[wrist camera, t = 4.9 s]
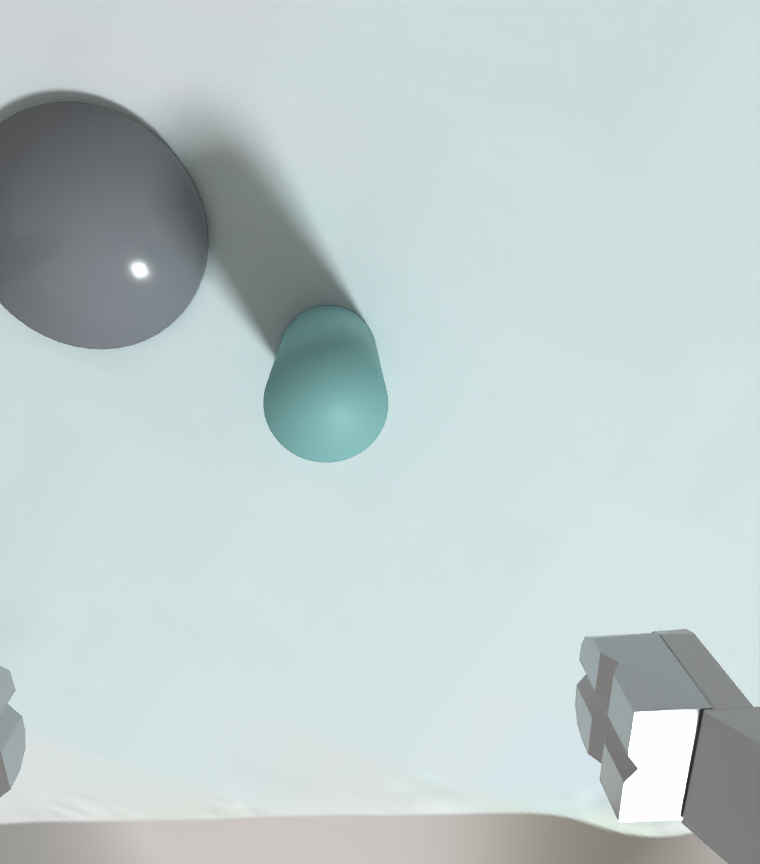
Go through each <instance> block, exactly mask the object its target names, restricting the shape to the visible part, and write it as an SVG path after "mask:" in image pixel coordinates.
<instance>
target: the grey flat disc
mask: <svg viewBox="0 0 760 864" xmlns="http://www.w3.org/2000/svg"><path fill="white" fill-rule="evenodd" d="M207 254H208V229H207V223H206V217H205V212H204V209H203V205H202V202H201V199H200V196H199V194H198V192H197V189H196V187H195V185H194V182H193V181H192V179H191V177H190V176H189V174H188V172H187V170H186V169H185V167H184V166H183V164H182V163H181V162H180V160H179V159H178V158H177V156H176V155H175V154H174V153H173V152H172V151H171V150H170V149H169V148H168V146H167V145H166V144H165V143H164V142H163V141H162V140H160V139H159V138H158V137H157V136H156V135H154V134H153V133H152V132H151V131H150V130H148V129H147V128H145V127H144V126H142V125H140V124H139V123H137V122H136V121H134V120H132V119H130V118H128V117H126V116H124V115H122V114H120V113H117V112H114V111H111V110H108V109H106V108H103V107H99V106H94V105H89V104H85V103H73V102H59V103H48V104H43V105H39V106H35V107H31V108H29V109H26V110H24V111H21V112H19V113H17V114H15V115H13V116H12V117H10V118H8V119H7V120H5V121H4V122H2V123H1V124H0V303H1V304H2V305H3V306H4V308H6V309H7V310H8V311H9V312H10V313H11V314H12V315H13V316H15V317H16V318H17V319H18V320H20V321H21V322H23V323H24V324H25V325H27V326H28V327H30V328H31V329H33V330H35V331H37V332H38V333H40V334H42V335H44V336H46V337H49V338H51V339H53V340H56V341H58V342H61V343H65V344H68V345H72V346H76V347H82V348H88V349H112V348H121V347H125V346H130V345H134V344H137V343H139V342H142V341H145V340H147V339H149V338H151V337H153V336H155V335H156V334H158V333H160V332H161V331H163V330H164V329H165V328H167V327H168V326H169V325H171V324H172V323H173V322H174V321H175V320H176V319H177V318H178V317H179V316H180V315H181V314H182V313H183V312H184V311H185V309H186V308H187V307H188V305H189V304H190V303H191V301H192V299H193V298H194V296H195V294H196V292H197V290H198V288H199V286H200V283H201V281H202V278H203V275H204V271H205V267H206V262H207Z"/></svg>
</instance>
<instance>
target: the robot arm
mask: <svg viewBox="0 0 760 864" xmlns="http://www.w3.org/2000/svg"><path fill="white" fill-rule="evenodd" d="M579 660H580V662H581V664H582V666H583V668H584V670H585V672H586V675H585V676H584V677H583V679H582V680H581V681H580V682H579V683H578V684H577V687H576V700H575V707H576V716H577V724H578V728H579V731H580V735H581V738H582V741H583V743H584V746H585V748H586V750H587V753H588V754H589V755H591V756H592V757H593V758H595V759H596V760H597V761H599V762H600V763H601V764H602V765H601V773H600V782H601V784H602V786H603V788H604V791H605V793H606V795H607V797H608V799H609V802H610V804H611V806H612V808H613V810H614V812H615V815H616V817H617V819H618V821H619V822H631V821H657V820H682V823H683V824H684V825H685V826H686V827H687V828H688V829H689V830H691V831H692V832H693V833H694V834H695V835H696V836H697V837H698V838H700V839H701V840H702V841H703V842H704V843H705V844H707V845H708V846H709V847H710V848H711V849H712V850H713V851H714V852H716V853H717V854H718V855H719V856H720V857H721V858H722V859H724V860H725V861H726V862H727V863H728V864H760V707H753V705H752V704H751V703H750V702H749V701H748V699H747V698H746V697H745V696H744V694H743V693H742V692H741V691H740V689H739V688H738V687H737V686H736V685H735V683H734V682H733V681H732V680H731V678H730V677H729V676H728V675H727V673H726V672H725V671H724V670H723V669H722V667H721V666H720V665H719V664H718V662H717V661H716V660H715V659H714V657H713V656H712V655H711V654H710V653H709V651H708V650H707V649H706V648H705V646H704V645H703V644H702V643H701V642H700V640H699V639H698V638H697V637H696V635H695V634H694V633H693V632H691V631H689V630H687V629H681V630H668V631H655V632H652V633H641V634H624V635H606V636H588V637H585V638H584V640H583V642H582V645H581V651H580V659H579ZM14 692H15V687H14V684H13V680H12V677H11V674H10V671H9V670H7V669H5V668H3V667H1V666H0V797H1V796H2V795H4V794H5V793H6V792H8V791H9V790H10V789H11V787H12V785H13V783H14V781H15V779H16V777H17V775H18V773H19V771H20V768H21V764H22V760H23V756H24V751H25V728H24V723H23V719H22V716H21V715H20V714H19V713H18V712H16V711H15V710H14V709H13V708H12V707H11V706H9V705H8V704H7V703H8V702H9V700H10V698H11V697H12V695H13V693H14Z"/></svg>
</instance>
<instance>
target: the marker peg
mask: <svg viewBox="0 0 760 864" xmlns="http://www.w3.org/2000/svg"><path fill="white" fill-rule="evenodd" d="M387 412H388V395H387V391H386V386H385V382H384V378H383V373H382V369H381V365H380V361H379V356H378V352H377V348H376V344H375V339H374V337H373V334H372V332H371V330H370V328H369V327H368V325H367V324H366V323H365V322H364V321H363V319H362V318H360V317H359V316H358V315H357V314H355V313H354V312H352V311H350V310H348V309H346V308H343V307H340V306H334V305H322V306H317V307H313V308H310V309H308V310H306V311H304V312H302V313H301V314H299V315H298V316H297V317H296V318H295V319H294V320H293V321H292V322H291V323H290V324H289V326H288V327H287V329H286V331H285V333H284V335H283V338H282V341H281V344H280V347H279V350H278V352H277V355H276V358H275V361H274V364H273V367H272V370H271V373H270V376H269V379H268V382H267V385H266V388H265V392H264V414H265V418H266V421H267V424H268V426H269V428H270V430H271V432H272V433H273V435H274V437H275V438H276V439H277V440H278V441H279V443H280V444H282V445H283V446H284V447H285V448H286V449H287V450H289V451H290V452H292V453H293V454H295V455H297V456H299V457H301V458H304V459H307V460H311V461H315V462H337V461H342V460H346V459H349V458H351V457H353V456H355V455H357V454H359V453H361V452H362V451H364V450H365V449H366V448H368V447H369V446H370V445H371V444H372V443H373V442H374V441H375V439H376V438H377V437H378V435H379V434H380V432H381V430H382V428H383V426H384V424H385V421H386V417H387Z"/></svg>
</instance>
